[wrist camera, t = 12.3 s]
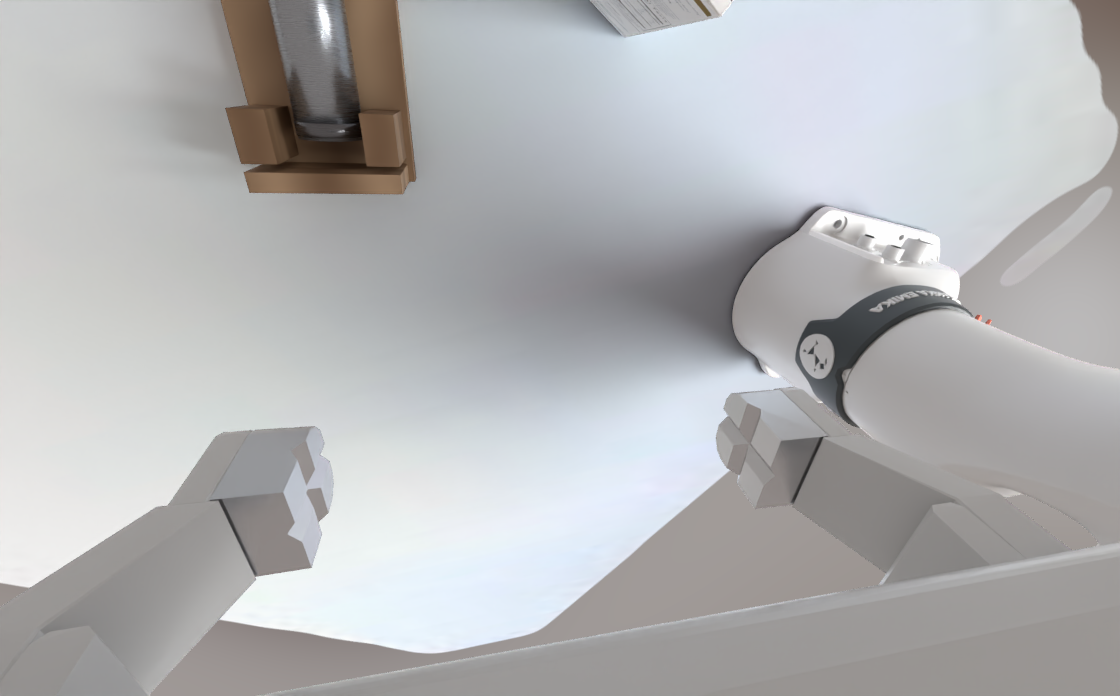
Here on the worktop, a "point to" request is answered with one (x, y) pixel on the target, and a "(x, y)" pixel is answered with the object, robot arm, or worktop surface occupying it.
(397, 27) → the cradle
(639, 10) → the syrup box
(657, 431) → the worktop surface
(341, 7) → the cylinder
